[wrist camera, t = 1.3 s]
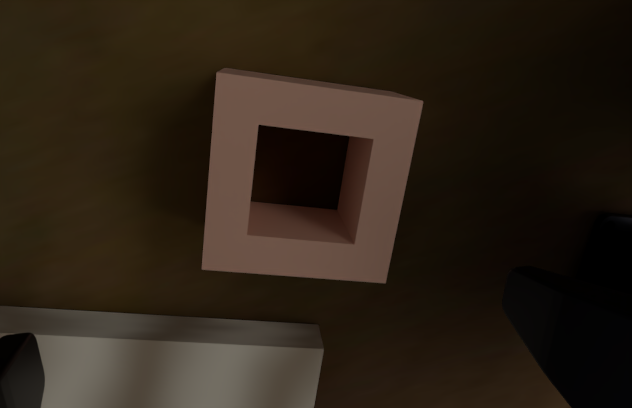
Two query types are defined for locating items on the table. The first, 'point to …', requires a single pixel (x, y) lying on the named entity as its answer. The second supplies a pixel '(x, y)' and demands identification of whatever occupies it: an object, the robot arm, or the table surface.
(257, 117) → the collar
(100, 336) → the post stand
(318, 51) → the table surface
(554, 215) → the table surface
